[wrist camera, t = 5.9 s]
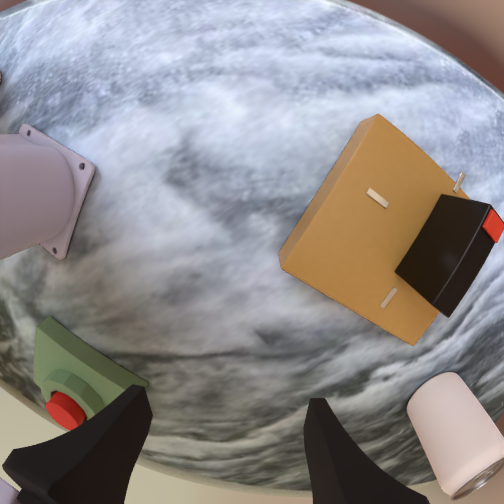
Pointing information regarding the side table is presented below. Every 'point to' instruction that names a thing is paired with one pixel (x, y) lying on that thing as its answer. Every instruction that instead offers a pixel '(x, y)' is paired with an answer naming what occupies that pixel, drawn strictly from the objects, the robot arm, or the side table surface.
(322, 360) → the side table surface
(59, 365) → the button box
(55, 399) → the button
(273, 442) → the side table surface
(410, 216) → the brown panel
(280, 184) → the side table surface
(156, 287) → the side table surface
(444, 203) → the black battery pack
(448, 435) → the can
